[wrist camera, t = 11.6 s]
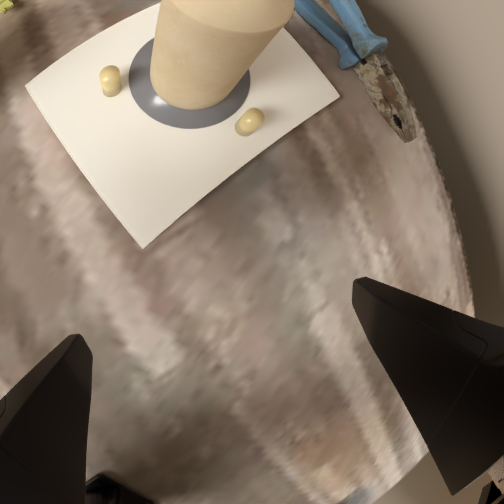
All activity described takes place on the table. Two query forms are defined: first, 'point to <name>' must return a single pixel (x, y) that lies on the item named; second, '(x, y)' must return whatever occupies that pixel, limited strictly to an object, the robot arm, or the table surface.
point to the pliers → (363, 59)
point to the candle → (210, 46)
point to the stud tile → (167, 121)
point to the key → (5, 5)
